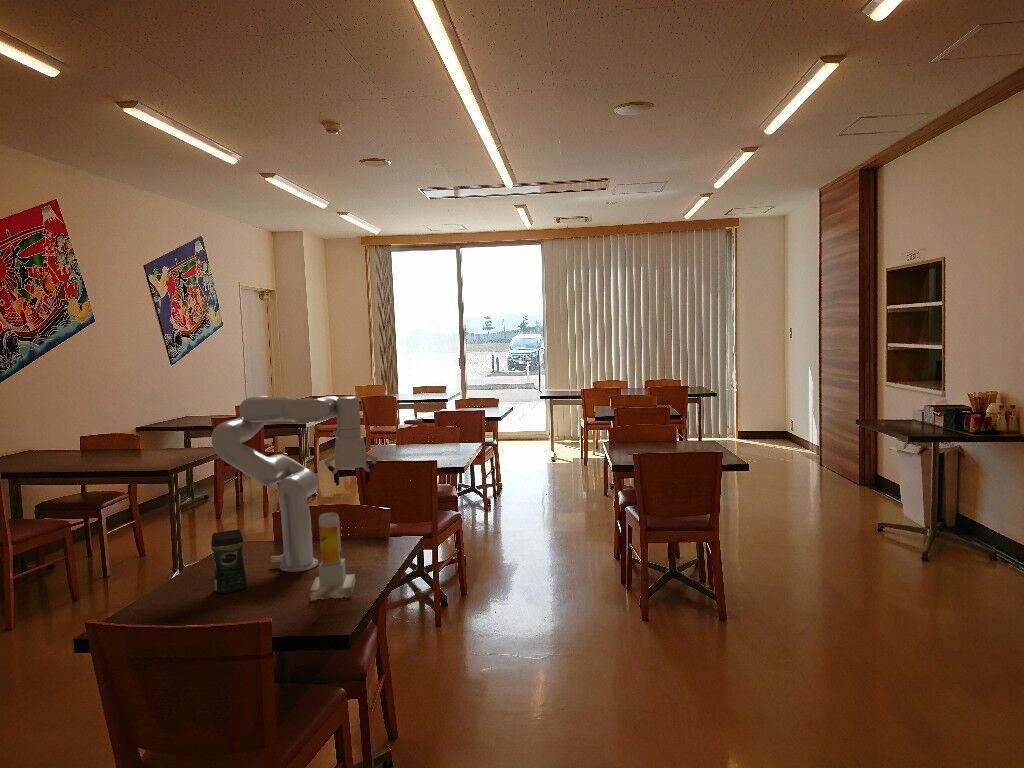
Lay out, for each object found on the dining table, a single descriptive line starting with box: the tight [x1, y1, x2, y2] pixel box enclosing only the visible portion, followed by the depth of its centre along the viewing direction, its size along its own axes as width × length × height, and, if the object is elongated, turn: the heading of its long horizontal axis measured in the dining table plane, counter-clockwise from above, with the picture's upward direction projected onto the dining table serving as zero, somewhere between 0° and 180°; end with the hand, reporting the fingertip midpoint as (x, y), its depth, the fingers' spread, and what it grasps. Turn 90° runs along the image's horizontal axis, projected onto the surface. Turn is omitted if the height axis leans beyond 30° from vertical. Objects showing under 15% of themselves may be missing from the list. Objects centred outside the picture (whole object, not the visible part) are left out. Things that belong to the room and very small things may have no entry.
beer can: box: [318, 512, 343, 565], centre depth 225 cm, size 6×6×15 cm
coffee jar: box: [210, 529, 248, 594], centre depth 232 cm, size 10×8×19 cm
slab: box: [309, 573, 356, 601], centre depth 226 cm, size 12×12×3 cm
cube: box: [318, 558, 347, 587], centre depth 226 cm, size 7×7×6 cm
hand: (352, 484), depth 247 cm, fingers open, 9 cm apart
